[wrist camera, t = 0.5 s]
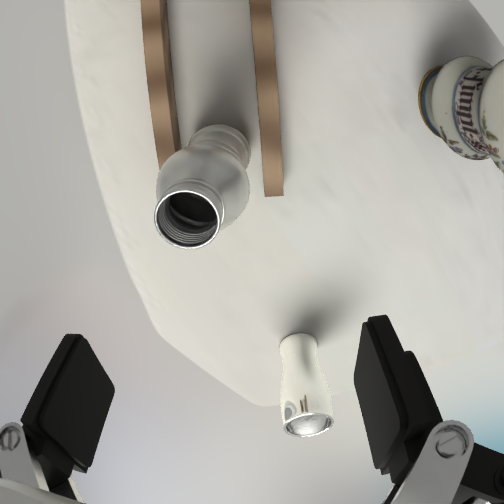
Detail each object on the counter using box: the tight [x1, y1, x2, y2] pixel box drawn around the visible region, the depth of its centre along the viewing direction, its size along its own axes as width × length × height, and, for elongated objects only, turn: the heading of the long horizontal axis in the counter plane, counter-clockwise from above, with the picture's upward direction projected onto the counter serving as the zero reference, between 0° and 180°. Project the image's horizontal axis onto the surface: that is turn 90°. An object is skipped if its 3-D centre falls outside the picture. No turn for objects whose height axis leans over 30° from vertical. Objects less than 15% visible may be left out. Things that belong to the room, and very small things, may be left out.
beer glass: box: [279, 333, 334, 437], centre depth 43 cm, size 7×7×15 cm
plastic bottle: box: [154, 124, 251, 249], centre depth 26 cm, size 6×7×20 cm
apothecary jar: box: [418, 56, 504, 173], centre depth 22 cm, size 12×12×18 cm
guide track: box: [141, 0, 284, 197], centre depth 27 cm, size 28×13×6 cm, turn 4°
